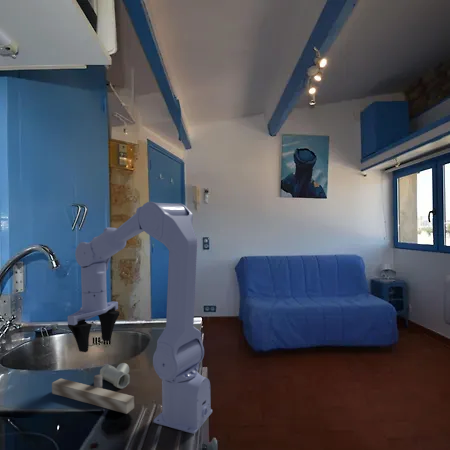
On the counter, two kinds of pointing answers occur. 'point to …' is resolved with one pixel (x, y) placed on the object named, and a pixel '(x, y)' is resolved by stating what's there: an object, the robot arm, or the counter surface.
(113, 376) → the pipe fitting
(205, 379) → the robot arm
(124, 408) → the light wooden bar
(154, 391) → the counter surface
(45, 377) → the counter surface
